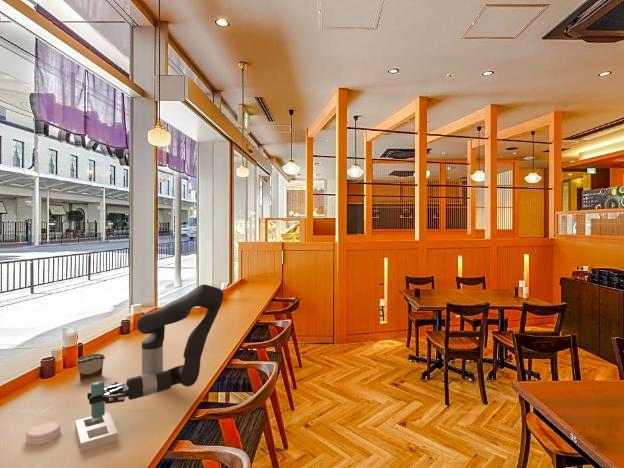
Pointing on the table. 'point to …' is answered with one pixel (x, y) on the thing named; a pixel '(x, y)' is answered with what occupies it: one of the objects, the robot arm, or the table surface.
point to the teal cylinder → (99, 408)
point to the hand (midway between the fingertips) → (88, 398)
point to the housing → (95, 432)
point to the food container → (90, 366)
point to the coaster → (43, 433)
